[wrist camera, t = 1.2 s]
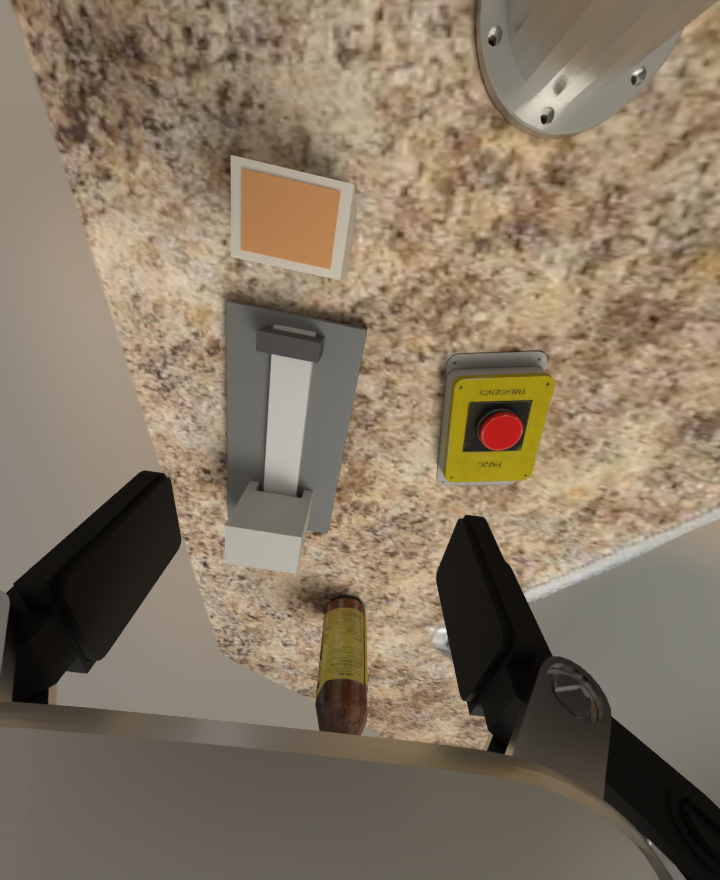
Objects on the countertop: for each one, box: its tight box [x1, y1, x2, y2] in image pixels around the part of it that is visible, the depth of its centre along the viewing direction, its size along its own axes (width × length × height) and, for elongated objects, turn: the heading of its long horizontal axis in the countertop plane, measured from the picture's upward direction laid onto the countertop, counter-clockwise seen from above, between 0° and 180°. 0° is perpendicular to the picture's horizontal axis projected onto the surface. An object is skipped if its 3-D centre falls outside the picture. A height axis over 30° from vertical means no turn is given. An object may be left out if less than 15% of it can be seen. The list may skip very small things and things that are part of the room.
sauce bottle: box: [315, 597, 368, 736], centre depth 38 cm, size 7×6×20 cm
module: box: [231, 155, 357, 280], centre depth 22 cm, size 5×7×7 cm
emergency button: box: [437, 351, 555, 486], centre depth 31 cm, size 9×4×15 cm
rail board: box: [225, 300, 367, 574], centre depth 29 cm, size 24×12×8 cm, turn 169°
